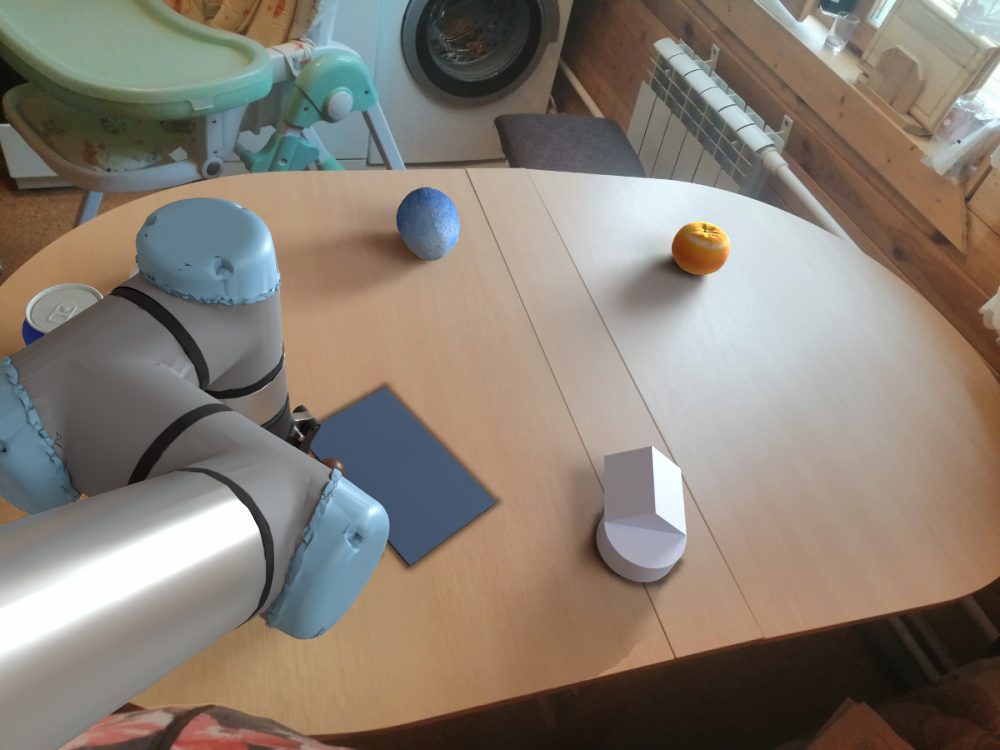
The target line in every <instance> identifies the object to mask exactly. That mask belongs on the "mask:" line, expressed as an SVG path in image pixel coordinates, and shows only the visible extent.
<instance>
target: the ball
mask: <svg viewBox="0 0 1000 750" xmlns="http://www.w3.org/2000/svg"><path fill="white" fill-rule="evenodd" d="M319 462H320V463H322V464H324V465H325V466H327V467H328V468H330V469H332V470H334V468H335V469H337V470H339V471H340V472H341V474H342V476H343V477H344V473H345V470H344V466H343V464H342V463H341V462H340V461H339V460H338V459H335V458H326V459H324V460H322V461H319Z"/></svg>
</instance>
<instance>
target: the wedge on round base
mask: <svg viewBox="0 0 1000 750" xmlns="http://www.w3.org/2000/svg"><path fill="white" fill-rule="evenodd" d="M603 465H604V466H603V470H604V471H603V472H604V473H603V475H604V476H603V482H604V484H603V486H604V487H603V489H604V491H603V492H604V493H603V495H604V497H603V498H604V500H603V501H604V504H603V505H604V506H603V507H604V509H603V510H604V511H603V512H604V514H603V515H602V517H601V520H600V521H599V522H598V526H597V528H596V534H595V535H596V536H595V538H596V539H595V540H596V541H595V542H596V546H597V549H598V552H599V555H600V557H601V558H602V560H603V561H604V563H605V564H606V565H607V567H609V568H610V569H611V570H612V571H613V572H615V573H616V574H617V575H619V576H621V577H622V578H625V579H627V580H629V581H632V582H638V583H651V582H655V581H658V580H660V579H662V578H664V577H665V576H666V575H667V574H669V572H670V571H671V570H672V568H673V567H674V566H675V565H676V563H677V562H678V561H679V559H680V558H681V557H682V556H683V554H684V552H685V550H686V547H687V542H688V541H687V540H688V539H687V537H688V535H687V525H686V512H685V502H684V501H685V500H684V491H683V478H682V469H681V468H680V467H679V466H678V465H676V464H675V463H674V461H672V460H671V459H669V458H668V457H667V456H666V455H664V454H663V453H662V452H660V450H659V449H656V447H654V446H653V445H650V446H645V447H640V448H635V449H631V450H626V451H621V452H616V453H611V454H607V455H603Z"/></svg>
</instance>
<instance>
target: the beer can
mask: <svg viewBox="0 0 1000 750" xmlns="http://www.w3.org/2000/svg"><path fill="white" fill-rule="evenodd" d="M104 297H105V296H103V295H102V294H101V292H99V290H97V289H96V288H94V287H92V286H90V285H87V284H84V283H78V282H77V283H76V282H66V283H60V284H55V285H52V286H49V287H46V288H44V289H42V290H41V291H39V292H37V293H36V294H35V295H33V296H32V297H31V298H30V300H29V301H28V302H27V304H26V305H25V309H24V317H25V318H24V320H23V323H22V327H21V337H22V339H23V342H24V344H25V347H26V346H28V345H29V344H31V343H33V342H34V341H36V340H37V339H39V338H41V337H42V336H44V335H45V334H47V333H49V332H50V331H52V330H53V329H55V328H56V327H58V326H60V325H61V324H63V323H64V322H66V321H68V320H69V319H71V318H72V317H74V316H76V315H77V314H79V313H80V312H82V311H84V310H85V309H87V308H88V307H90V306H92V305H93V304H95V303H96V302H98V301H99V300H101V299H103V298H104Z"/></svg>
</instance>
